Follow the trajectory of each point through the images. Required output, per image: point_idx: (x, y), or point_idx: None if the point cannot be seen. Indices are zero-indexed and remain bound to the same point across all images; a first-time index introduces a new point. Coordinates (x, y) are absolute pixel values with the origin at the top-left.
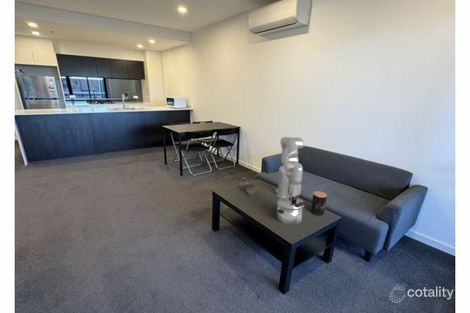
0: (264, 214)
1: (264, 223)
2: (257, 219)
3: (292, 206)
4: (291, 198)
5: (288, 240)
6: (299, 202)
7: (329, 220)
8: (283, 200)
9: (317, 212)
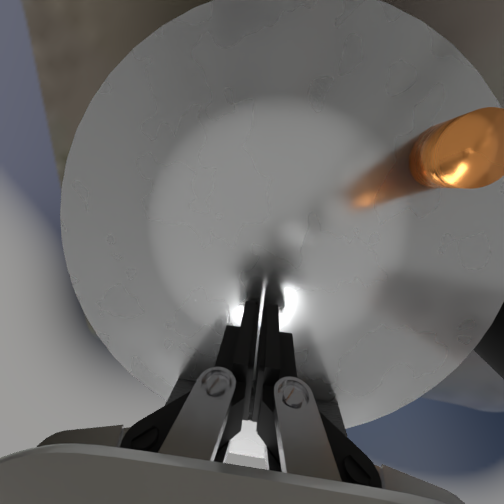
0: (140, 4)
1: (56, 125)
2: (32, 31)
3: (161, 355)
4: (440, 187)
5: (88, 324)
6: (353, 364)
7: (439, 391)
8: (248, 119)
9: (476, 347)
